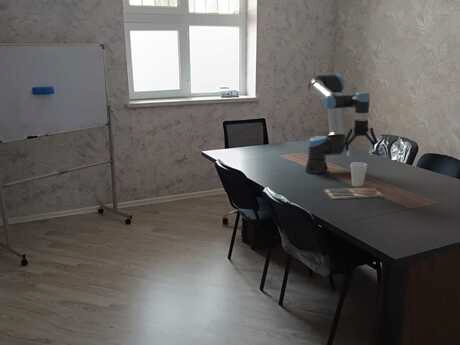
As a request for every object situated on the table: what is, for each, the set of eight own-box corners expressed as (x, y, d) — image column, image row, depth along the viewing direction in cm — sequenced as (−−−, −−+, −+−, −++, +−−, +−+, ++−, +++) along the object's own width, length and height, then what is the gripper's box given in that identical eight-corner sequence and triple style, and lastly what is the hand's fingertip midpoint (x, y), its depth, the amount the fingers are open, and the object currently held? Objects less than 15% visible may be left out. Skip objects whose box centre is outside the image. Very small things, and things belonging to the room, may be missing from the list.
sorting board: (324, 190, 251) (324, 188, 251) (372, 188, 253) (373, 186, 253) (331, 199, 237) (331, 197, 236) (383, 196, 239) (383, 194, 238)
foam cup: (354, 187, 255) (355, 166, 252) (346, 183, 264) (347, 162, 260) (368, 186, 258) (370, 165, 254) (360, 182, 266) (361, 161, 263)
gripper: (342, 121, 246) (340, 157, 251) (385, 119, 247) (382, 156, 253) (338, 119, 253) (336, 155, 258) (379, 118, 254) (377, 153, 260)
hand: (359, 155), depth 256 cm, fingers open, 13 cm apart
